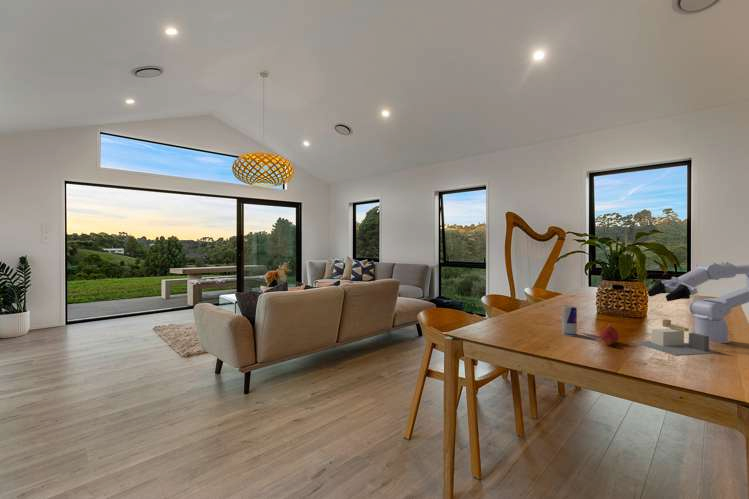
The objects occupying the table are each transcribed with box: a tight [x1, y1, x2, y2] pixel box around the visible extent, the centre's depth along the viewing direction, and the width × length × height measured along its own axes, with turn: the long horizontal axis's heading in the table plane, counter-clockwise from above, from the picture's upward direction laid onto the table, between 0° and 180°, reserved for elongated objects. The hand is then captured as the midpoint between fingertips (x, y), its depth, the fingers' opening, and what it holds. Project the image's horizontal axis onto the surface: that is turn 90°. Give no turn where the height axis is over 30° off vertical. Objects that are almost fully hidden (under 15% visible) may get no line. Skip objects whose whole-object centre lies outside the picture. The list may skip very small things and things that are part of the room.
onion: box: [599, 323, 620, 346], centre depth 131 cm, size 6×6×8 cm
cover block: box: [650, 327, 685, 346], centre depth 130 cm, size 9×4×5 cm, turn 100°
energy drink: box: [561, 304, 578, 337], centre depth 146 cm, size 5×5×12 cm
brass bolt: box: [662, 318, 690, 332], centre depth 130 cm, size 2×8×3 cm, turn 10°
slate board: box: [629, 332, 721, 357], centre depth 126 cm, size 18×18×6 cm
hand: (657, 296), depth 135 cm, fingers open, 7 cm apart
